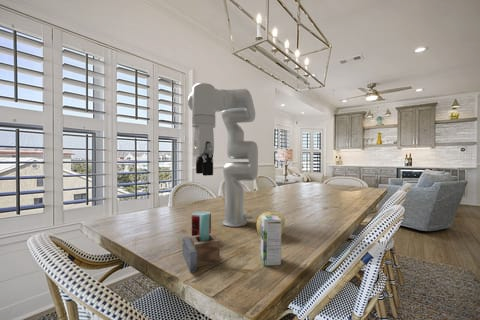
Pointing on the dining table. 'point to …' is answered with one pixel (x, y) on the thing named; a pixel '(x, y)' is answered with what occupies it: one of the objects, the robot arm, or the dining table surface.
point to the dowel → (204, 227)
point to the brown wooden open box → (206, 250)
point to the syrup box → (270, 240)
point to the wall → (190, 254)
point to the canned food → (198, 222)
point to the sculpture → (270, 214)
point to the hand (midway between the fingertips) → (204, 174)
